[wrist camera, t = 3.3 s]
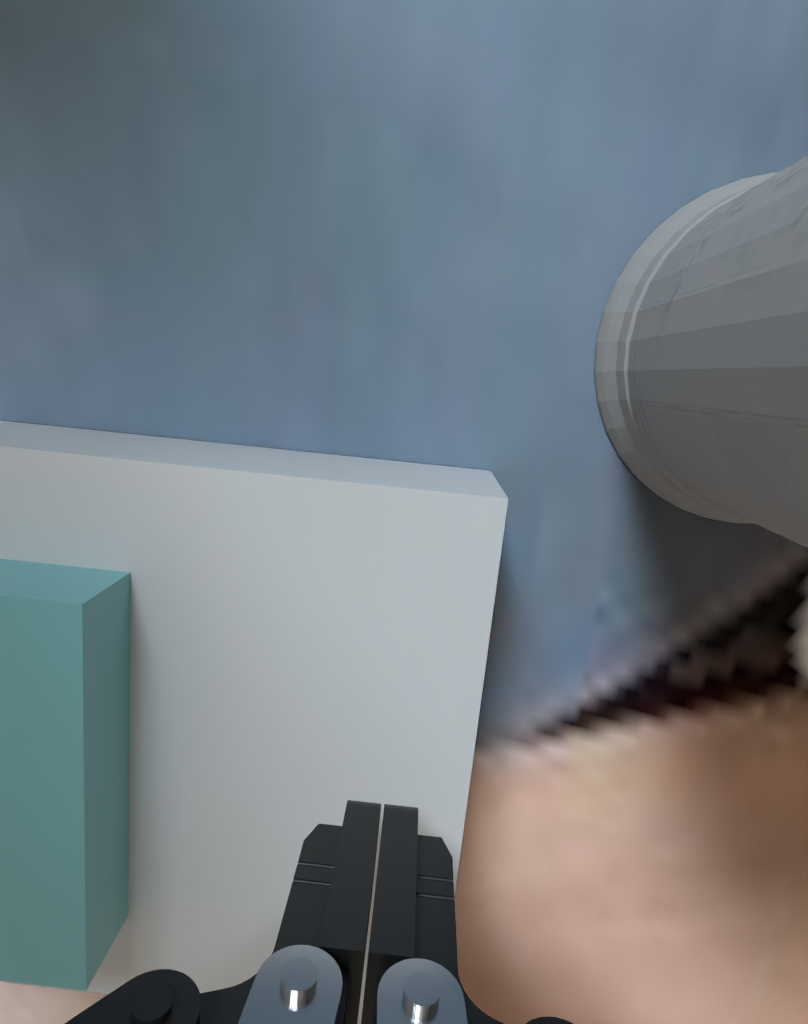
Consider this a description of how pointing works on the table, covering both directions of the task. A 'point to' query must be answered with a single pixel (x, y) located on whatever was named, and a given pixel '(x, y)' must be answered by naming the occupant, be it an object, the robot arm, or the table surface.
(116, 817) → the teal rectangular box
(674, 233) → the glass holder
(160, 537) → the plate
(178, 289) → the table surface
